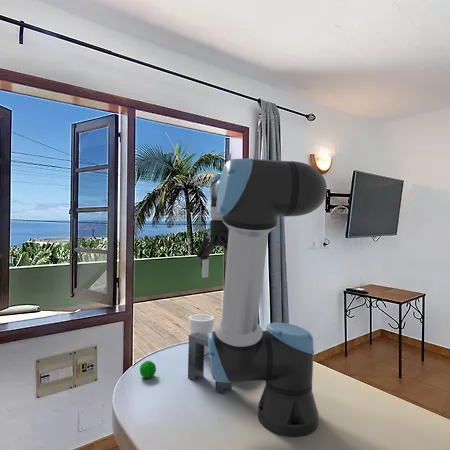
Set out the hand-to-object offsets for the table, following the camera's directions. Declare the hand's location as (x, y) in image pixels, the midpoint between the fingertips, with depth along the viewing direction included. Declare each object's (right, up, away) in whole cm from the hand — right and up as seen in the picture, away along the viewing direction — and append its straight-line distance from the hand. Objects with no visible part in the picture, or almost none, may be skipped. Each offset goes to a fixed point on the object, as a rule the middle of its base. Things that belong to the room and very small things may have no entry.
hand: (219, 279), depth 120 cm
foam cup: (-7, -29, +8) cm, 31 cm away
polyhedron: (-22, -29, -13) cm, 38 cm away
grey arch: (-3, -29, -16) cm, 33 cm away
